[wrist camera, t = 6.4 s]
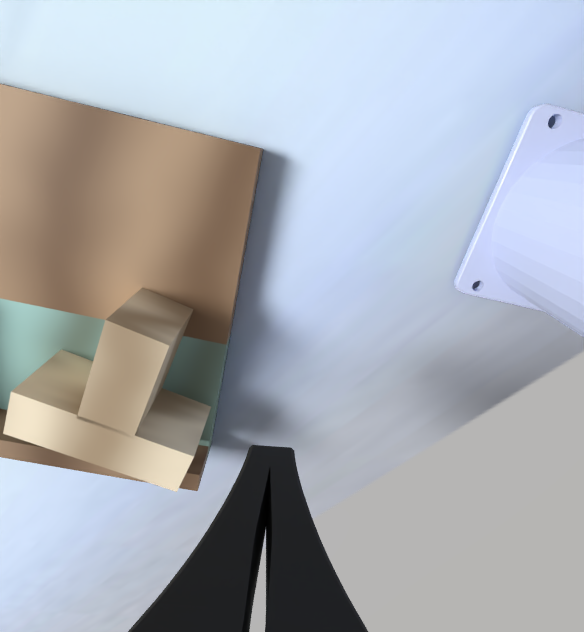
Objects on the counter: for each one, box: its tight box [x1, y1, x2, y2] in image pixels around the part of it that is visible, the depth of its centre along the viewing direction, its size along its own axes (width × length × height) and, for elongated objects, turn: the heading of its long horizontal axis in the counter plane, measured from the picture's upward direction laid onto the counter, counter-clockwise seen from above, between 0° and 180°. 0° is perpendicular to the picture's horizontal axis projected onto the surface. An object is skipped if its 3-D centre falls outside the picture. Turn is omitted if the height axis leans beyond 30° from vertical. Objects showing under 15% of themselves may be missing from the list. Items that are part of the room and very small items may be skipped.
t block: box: [3, 288, 211, 492], centre depth 17 cm, size 8×8×4 cm
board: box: [0, 84, 263, 491], centre depth 17 cm, size 14×17×3 cm
